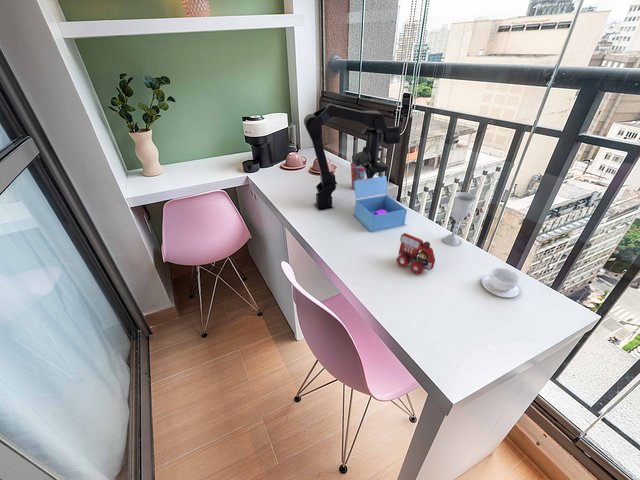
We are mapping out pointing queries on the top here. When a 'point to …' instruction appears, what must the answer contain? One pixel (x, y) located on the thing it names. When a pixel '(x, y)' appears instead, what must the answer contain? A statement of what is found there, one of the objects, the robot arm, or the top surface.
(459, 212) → the chalice
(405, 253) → the toy fire truck
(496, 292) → the teacup
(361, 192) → the flap
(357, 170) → the cup
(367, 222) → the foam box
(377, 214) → the crystal
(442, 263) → the top surface
